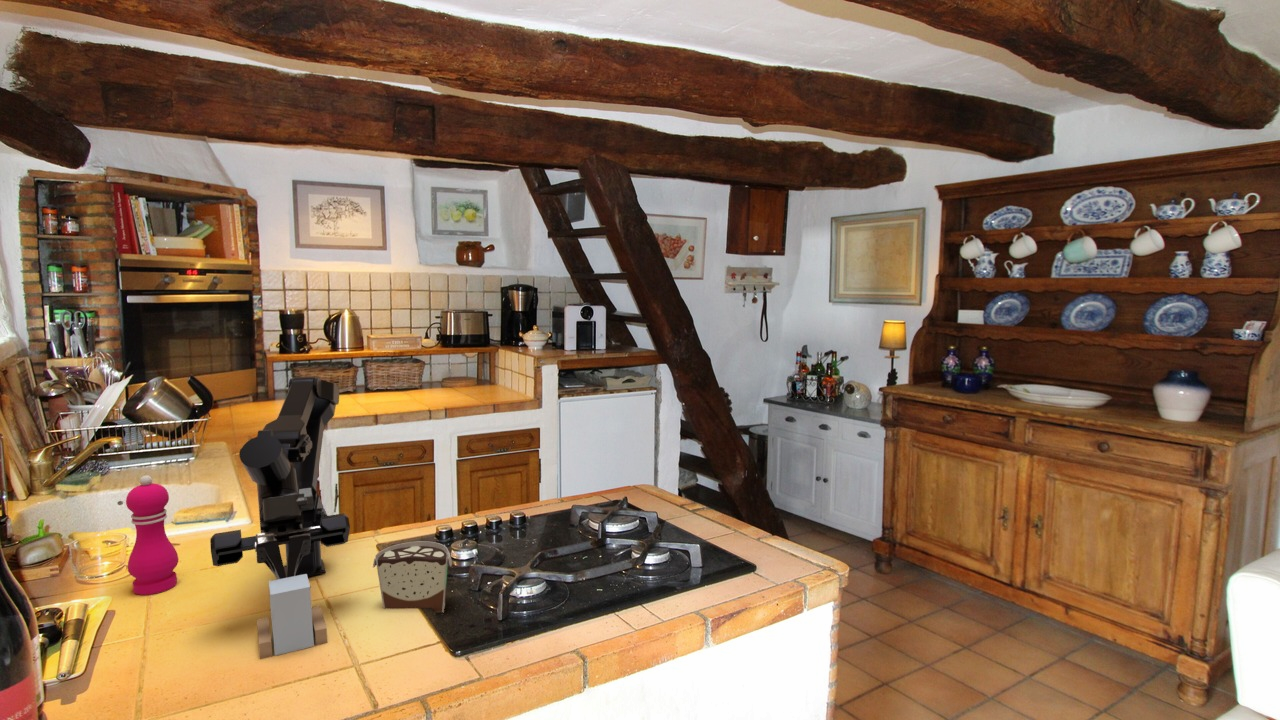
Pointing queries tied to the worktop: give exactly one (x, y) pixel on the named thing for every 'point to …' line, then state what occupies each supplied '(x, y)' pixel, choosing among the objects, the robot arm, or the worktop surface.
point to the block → (291, 614)
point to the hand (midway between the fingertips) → (287, 591)
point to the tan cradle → (265, 636)
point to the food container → (413, 575)
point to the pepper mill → (151, 540)
